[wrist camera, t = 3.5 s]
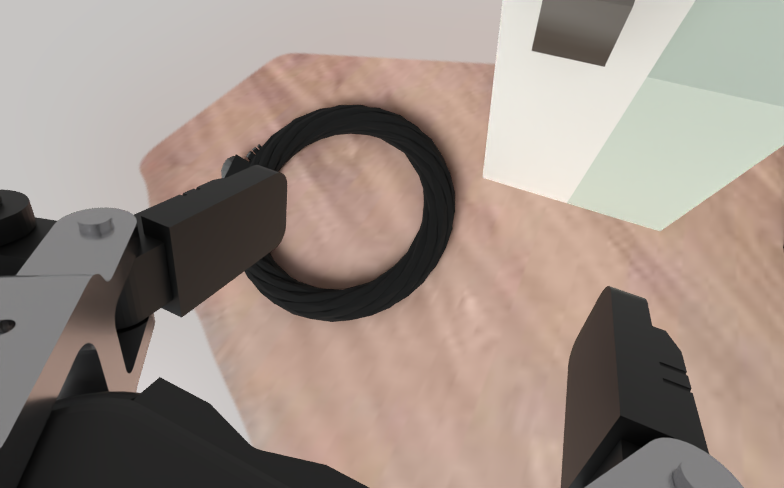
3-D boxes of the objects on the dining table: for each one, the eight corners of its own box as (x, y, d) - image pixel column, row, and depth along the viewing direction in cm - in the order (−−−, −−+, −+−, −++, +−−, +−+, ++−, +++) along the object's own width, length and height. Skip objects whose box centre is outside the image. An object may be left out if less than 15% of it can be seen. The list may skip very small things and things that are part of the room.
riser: (659, 231, 46) (1045, -38, 16) (482, 177, 51) (514, -106, 21) (682, 152, 48) (1060, -220, 18) (509, 108, 53) (574, -242, 23)
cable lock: (401, 359, 43) (169, 263, 50) (406, 360, 47) (188, 270, 54) (487, 128, 49) (268, 72, 56) (485, 145, 53) (279, 90, 60)
